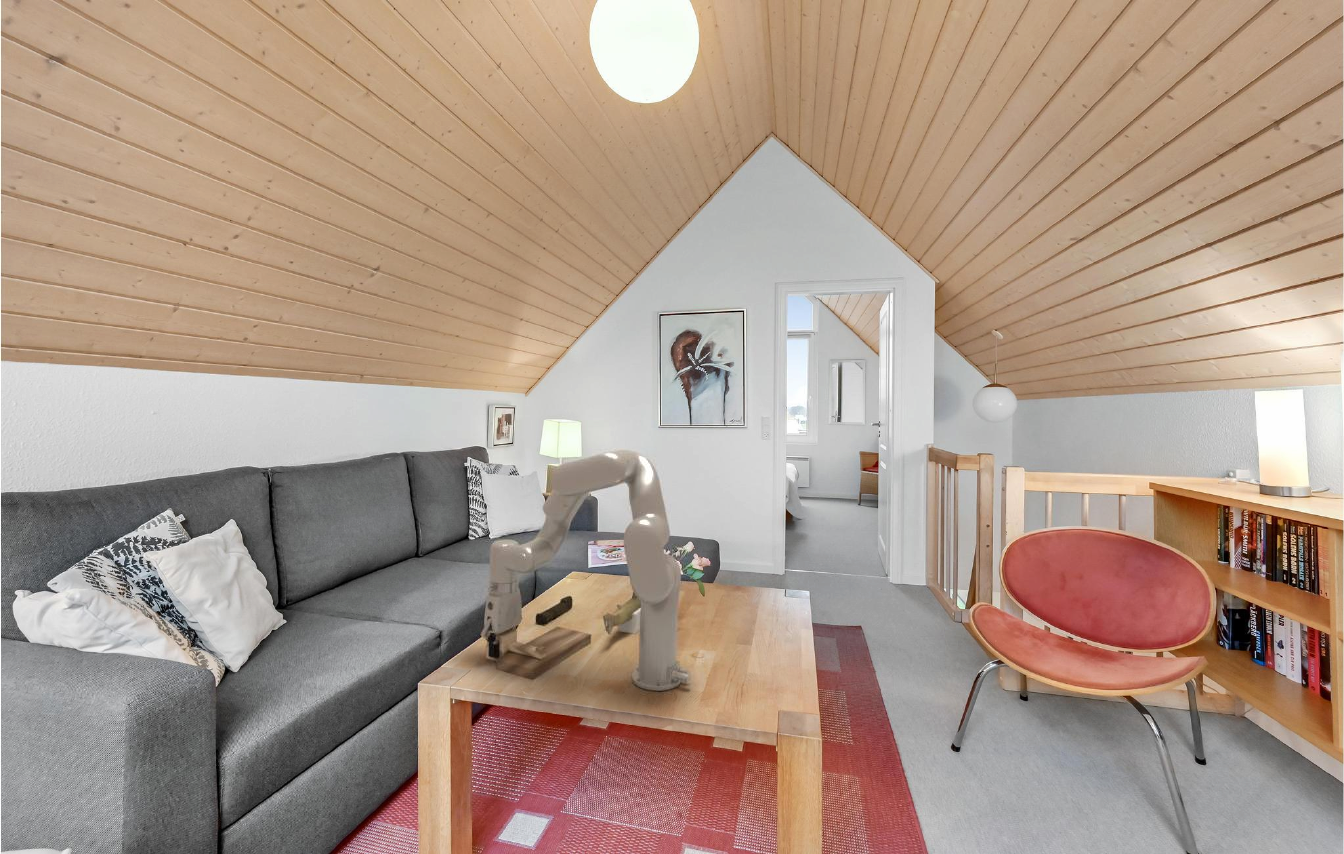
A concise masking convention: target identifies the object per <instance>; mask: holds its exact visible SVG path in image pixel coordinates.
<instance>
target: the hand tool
mask: <svg viewBox="0 0 1344 854" xmlns="http://www.w3.org/2000/svg"><path fill="white" fill-rule="evenodd" d="M572 608H573V597H572V596H571V595H567V596H565V597H562V598H561V599H560V601H559V603H558V602H557V604H555V605H553V606H551V607H550V608H548V609H546V610H544V611H541V612H538V613H536V614H535V623H536V625H539V626H546V624H548V623H549V622H550V621H551V620H553V619H555V618H556V617H559V616H560V615H561V614H564V613H566V614H567V613H568V612H569V611H570V610H571V609H572Z"/></svg>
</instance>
